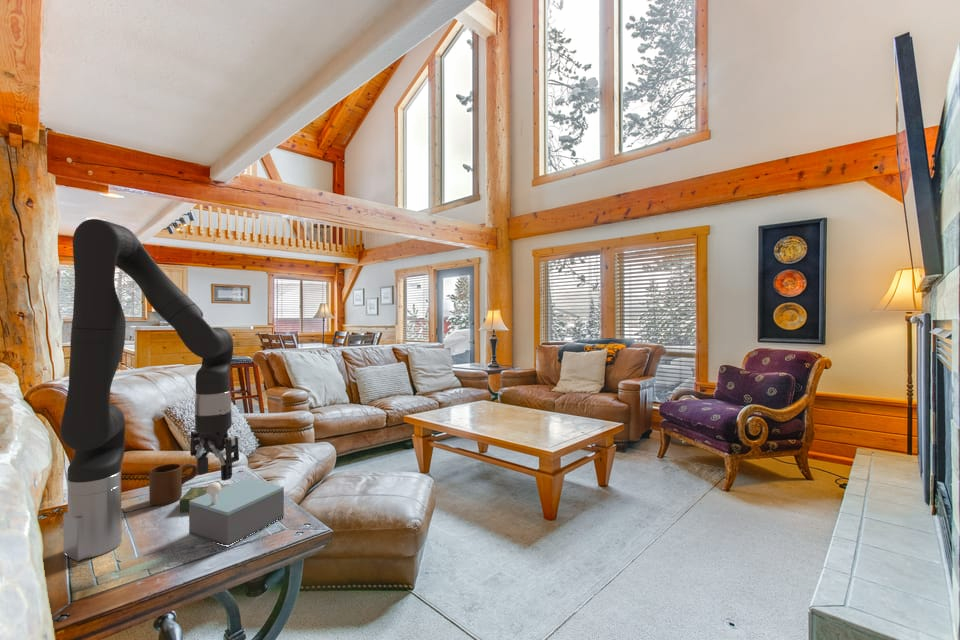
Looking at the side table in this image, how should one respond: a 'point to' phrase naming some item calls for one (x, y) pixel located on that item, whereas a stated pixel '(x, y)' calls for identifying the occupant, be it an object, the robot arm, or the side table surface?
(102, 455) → the robot arm
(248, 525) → the storage box
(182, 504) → the carton
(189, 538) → the side table surface
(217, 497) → the lid flap
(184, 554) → the side table surface
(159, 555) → the side table surface
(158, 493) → the mug
